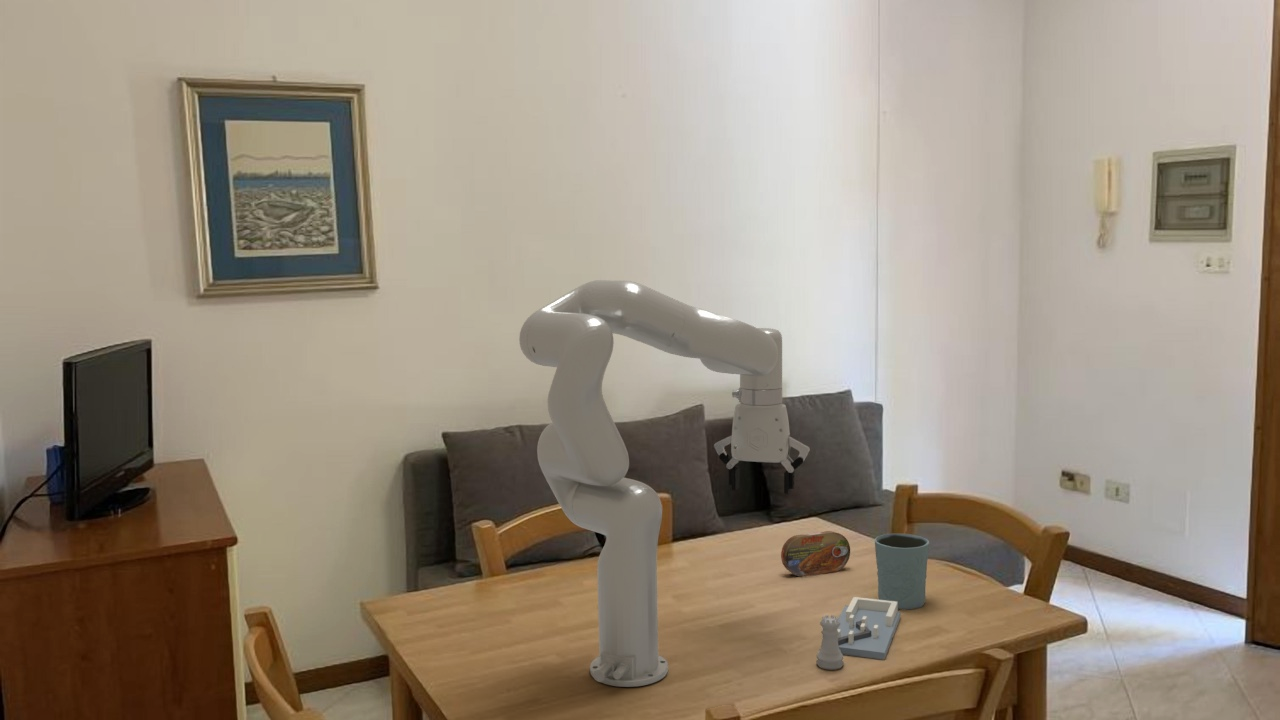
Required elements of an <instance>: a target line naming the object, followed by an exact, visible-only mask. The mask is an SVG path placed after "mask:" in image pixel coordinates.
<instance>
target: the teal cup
mask: <svg viewBox="0 0 1280 720" xmlns="http://www.w3.org/2000/svg"><path fill="white" fill-rule="evenodd" d="M874 549H875V559H876V563H875V564H876V569H877V572H876V574H877V582H878V584H877V590H878V591H877V593H878V594H877V595H878V600H887V601H896V602H898V610H916V609H920V608H922V607H924V605H925V603H926V585H927V584H926V583H927V581H926V579H927V570H928V559H929V553H930V552H929V551H930V541H929V540H928V539H927V538H925V537H923V536H920V535H916V534H911V533H909V534H908V533H885V534H881V535H878V536H876V537H875V538H874Z"/></svg>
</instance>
